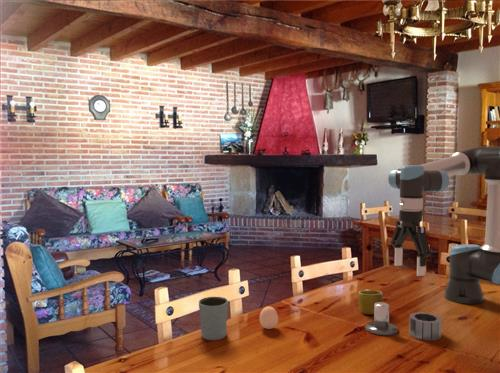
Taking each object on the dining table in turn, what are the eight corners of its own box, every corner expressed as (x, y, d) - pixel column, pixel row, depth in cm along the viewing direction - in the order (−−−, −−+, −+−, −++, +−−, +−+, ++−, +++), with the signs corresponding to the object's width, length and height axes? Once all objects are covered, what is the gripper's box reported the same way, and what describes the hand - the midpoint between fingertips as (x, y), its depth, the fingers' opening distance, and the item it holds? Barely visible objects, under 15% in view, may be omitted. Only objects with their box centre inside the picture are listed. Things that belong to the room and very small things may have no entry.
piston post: (386, 322, 166) (386, 298, 165) (404, 333, 155) (404, 308, 155) (359, 325, 163) (360, 301, 162) (375, 337, 152) (376, 311, 152)
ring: (428, 327, 161) (428, 311, 160) (447, 338, 151) (447, 321, 151) (403, 330, 158) (404, 313, 158) (421, 342, 149) (422, 324, 148)
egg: (257, 330, 159) (256, 308, 158) (262, 323, 165) (262, 302, 164) (275, 333, 156) (275, 311, 156) (280, 326, 163) (280, 304, 162)
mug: (388, 313, 169) (380, 287, 171) (362, 320, 172) (354, 294, 173) (387, 309, 181) (379, 284, 183) (362, 315, 183) (355, 290, 185)
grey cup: (205, 343, 149) (205, 307, 148) (194, 332, 158) (194, 298, 157) (233, 337, 153) (233, 302, 152) (221, 327, 162) (220, 294, 161)
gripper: (382, 206, 167) (380, 262, 168) (423, 215, 142) (421, 280, 144) (400, 205, 168) (398, 261, 170) (443, 214, 144) (441, 279, 146)
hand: (409, 270), depth 157 cm, fingers open, 13 cm apart
